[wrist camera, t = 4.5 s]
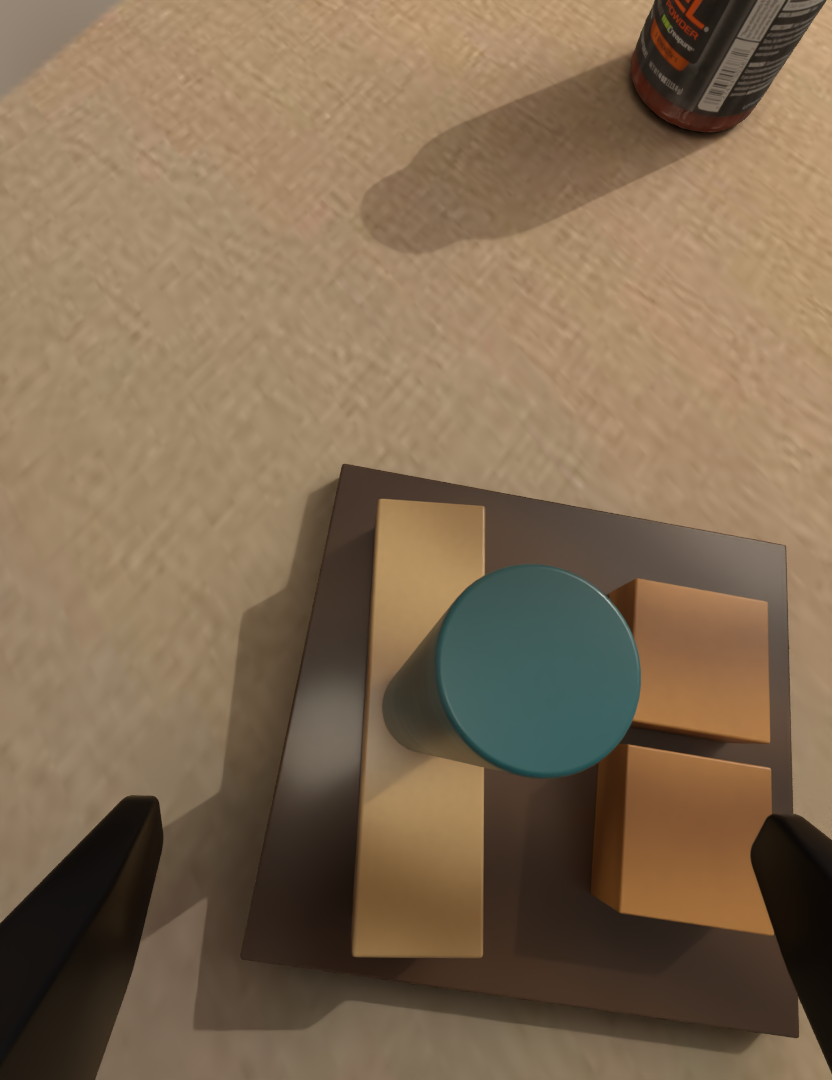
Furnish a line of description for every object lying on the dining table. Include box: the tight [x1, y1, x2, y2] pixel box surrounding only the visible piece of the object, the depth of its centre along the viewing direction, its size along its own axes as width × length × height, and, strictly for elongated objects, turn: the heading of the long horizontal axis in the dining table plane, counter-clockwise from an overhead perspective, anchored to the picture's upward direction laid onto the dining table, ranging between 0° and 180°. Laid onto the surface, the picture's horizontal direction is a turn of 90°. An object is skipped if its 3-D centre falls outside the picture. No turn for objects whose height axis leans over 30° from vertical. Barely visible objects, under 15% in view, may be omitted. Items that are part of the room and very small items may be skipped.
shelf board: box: [240, 464, 799, 1038], centre depth 19 cm, size 14×15×1 cm
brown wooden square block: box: [591, 744, 774, 936], centre depth 17 cm, size 4×4×2 cm
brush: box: [351, 499, 641, 958], centre depth 12 cm, size 11×3×12 cm, turn 178°
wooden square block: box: [609, 578, 770, 744], centre depth 19 cm, size 4×4×2 cm
